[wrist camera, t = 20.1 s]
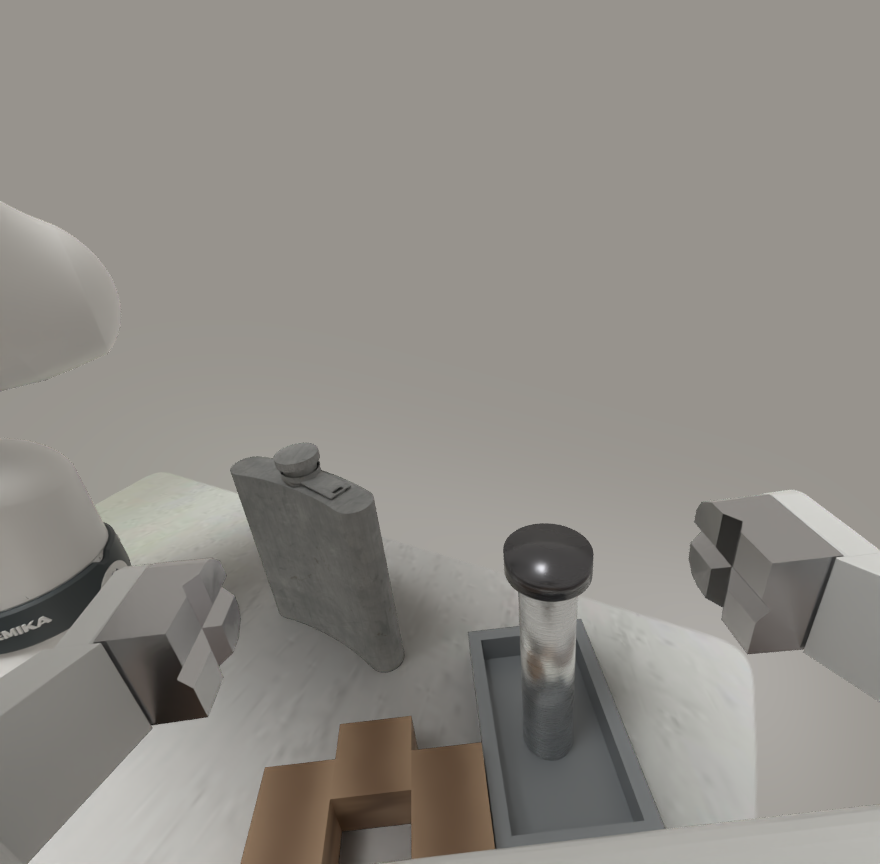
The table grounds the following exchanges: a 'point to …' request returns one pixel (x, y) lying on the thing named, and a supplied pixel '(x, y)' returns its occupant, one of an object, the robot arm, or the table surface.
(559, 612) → the steel pin
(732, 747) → the table surface
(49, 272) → the robot arm
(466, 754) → the block
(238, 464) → the hip flask
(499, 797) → the tray
